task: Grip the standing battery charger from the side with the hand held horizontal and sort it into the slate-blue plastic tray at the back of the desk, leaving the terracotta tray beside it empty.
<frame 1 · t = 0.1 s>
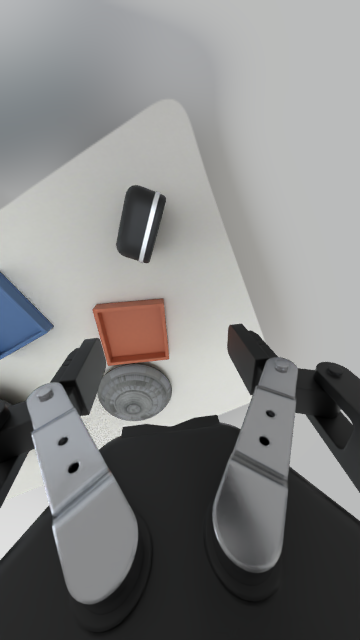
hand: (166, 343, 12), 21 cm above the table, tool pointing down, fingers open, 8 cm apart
terracotta tray: (135, 330, 36), on the table
blue tray: (1, 315, 32), on the table
flying saucer: (136, 387, 42), on the table
battery charger: (145, 225, 29), on the table
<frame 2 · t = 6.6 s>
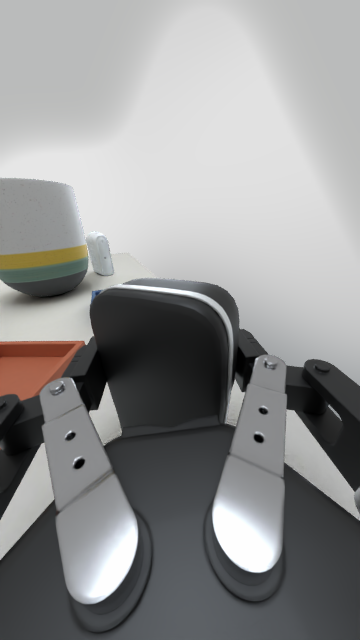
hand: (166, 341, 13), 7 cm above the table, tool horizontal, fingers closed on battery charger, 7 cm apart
terracotta tray: (6, 392, 19), on the table
planter: (55, 293, 48), on the table
battery charger: (177, 442, 14), on the table, touching gripper
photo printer: (104, 273, 65), on the table
when the fingers open (8 cm above the table, at t = 17.0 s): battery charger stays where it is, resting on blue tray.
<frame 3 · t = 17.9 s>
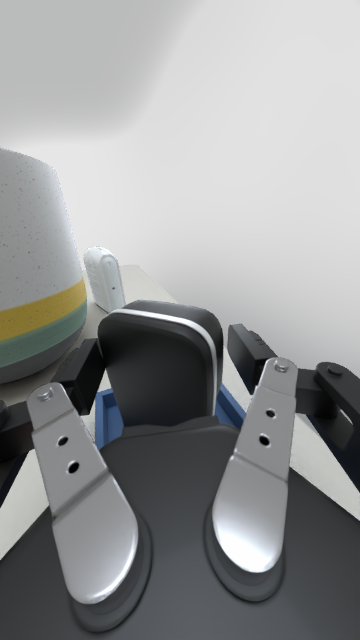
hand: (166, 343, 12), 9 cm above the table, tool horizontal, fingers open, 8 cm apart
blue tray: (174, 440, 16), on the table
planter: (29, 362, 27), on the table
battery charger: (174, 439, 16), resting on blue tray
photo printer: (110, 307, 43), on the table
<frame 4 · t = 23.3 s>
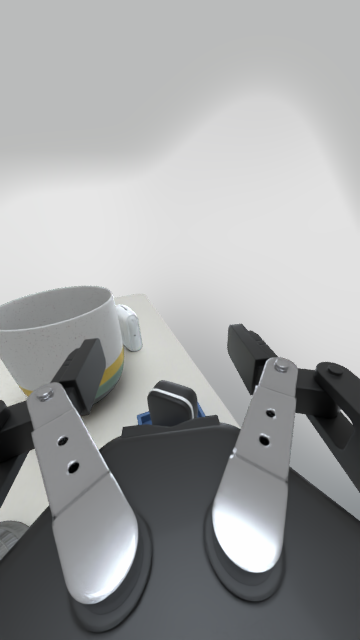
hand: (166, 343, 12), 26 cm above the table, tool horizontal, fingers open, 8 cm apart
planter: (87, 392, 44), on the table
battery charger: (177, 439, 33), resting on blue tray
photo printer: (130, 344, 60), on the table
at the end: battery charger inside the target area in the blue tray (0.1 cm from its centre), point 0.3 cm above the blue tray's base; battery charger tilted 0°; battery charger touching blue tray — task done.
